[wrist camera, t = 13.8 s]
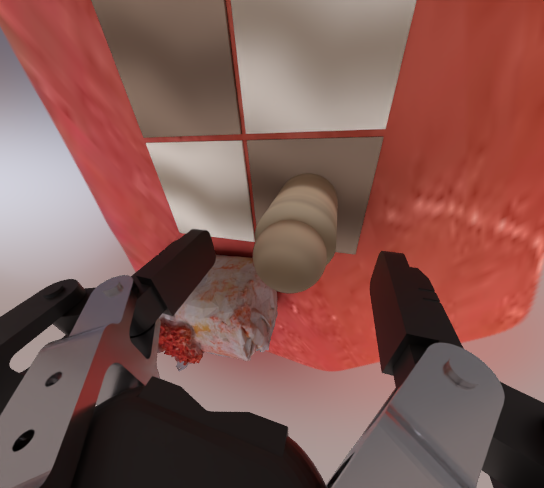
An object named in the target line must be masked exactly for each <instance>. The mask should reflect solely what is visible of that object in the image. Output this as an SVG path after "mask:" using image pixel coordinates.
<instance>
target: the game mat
mask: <svg viewBox="0 0 544 488" xmlns="http://www.w3.org/2000/svg"><path fill="white" fill-rule="evenodd" d="M91 1H92V4H93V6H94V9H95V11H96V14H97V17H98V19H99V22H100V25H101V27H102V30H103V32H104V35H105V38H106V40H107V43H108V46H109V48H110V51H111V53H112V56H113V59H114V61H115V64H116V67H117V69H118V72H119V74H120V77H121V80H122V82H123V85H124V88H125V90H126V93H127V95H128V98H129V101H130V103H131V106H132V109H133V111H134V114H135V116H136V119H137V122H138V124H139V127H140V130H141V132H142V135H143V137H144V138H146V137H174V136H202V135H230V134H242V131H241V123H240V115H239V107H238V99H237V91H236V83H235V75H234V67H233V59H232V51H231V43H230V35H229V27H228V19H227V11H226V3H225V0H91ZM415 4H416V0H231V7H232V16H233V24H234V33H235V42H236V51H237V59H238V68H239V77H240V86H241V94H242V103H243V112H244V121H245V130H246V134H258V133H286V132H315V131H343V130H371V129H386V125H387V121H388V117H389V112H390V108H391V104H392V100H393V96H394V92H395V87H396V83H397V79H398V75H399V71H400V67H401V63H402V58H403V54H404V50H405V46H406V42H407V38H408V34H409V29H410V25H411V21H412V17H413V13H414V9H415ZM382 141H383V137H348V138H310V139H272V140H247V147H248V156H249V165H250V173H251V182H252V191H253V200H254V208H255V217H256V226H257V225H258V222H259V221H260V219H261V218H262V216H263V215H264V214H265V212H266V211H267V209H268V208H269V206H270V205H271V203H272V202H273V201H274V199H275V198H276V196H277V195H278V193H279V192H280V191H281V189H282V188H283V186H284V185H285V184H286V183H287V181H289V180H290V179H291V178H293V177H295V176H297V175H300V174H304V173H311V174H317V175H320V176H322V177H324V178H325V179H327V180H328V181H329V182H330V183H331V184H332V185H333V187H334V189H335V191H336V193H337V198H338V208H337V238H336V250H335V252H340V253H348V254H356V249H357V245H358V241H359V237H360V233H361V229H362V224H363V220H364V216H365V212H366V208H367V204H368V200H369V195H370V191H371V187H372V183H373V179H374V175H375V171H376V166H377V162H378V158H379V154H380V150H381V146H382ZM146 145H147V148H148V151H149V153H150V156H151V158H152V161H153V164H154V166H155V169H156V172H157V174H158V177H159V179H160V182H161V185H162V187H163V190H164V193H165V195H166V198H167V200H168V203H169V206H170V208H171V211H172V214H173V216H174V219H175V221H176V224H177V227H178V229H179V232H180V233H188V232H189V231H190V230H191V229H199V230H207V231H208V232H209V233H210V236H211V237H218V238H227V239H235V240H243V241H251V242H255V235H254V227H253V219H252V211H251V203H250V195H249V187H248V179H247V171H246V163H245V155H244V147H243V140H234V141H196V142H158V143H146Z"/></svg>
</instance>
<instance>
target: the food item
mask: <svg viewBox="0 0 544 488" xmlns="http://www.w3.org/2000/svg"><path fill="white" fill-rule="evenodd" d="M276 317H277V291H276V290H274V289H272V288H270V287H269V286H267V285H266V284H265V283H264V282H263V281H262V280H261V279H260V277H259V276H258V274H257V272H256V270H255V267H254V263H253V258H249V257H240V256H226V255H216V261H215V263H214V265H213V267H212V268H211V269H210V270H209V272H208V273H207V274H206V275H205V277H204V278H203V279H202V280H201V282H200V283H199V284H198V286H197V287H196V288H195V289H194V291H193V292H192V293H191V294H190V296H189V297H188V298H187V299H186V301H185V302H184V303H183V304H182V306H181V307H180V308H179V309H178V311H177V312H176V313H175V314H174V316H170V315H166V314H162V315H161V316H160V317H159V319H160V321H161V325H160V334H159V343H158V351H157V353H160V352H163V351H164V350H166V351H165V353H164V354H167V355H172V357H173V356H175V360H176V361H177V366H176V367H177V369H178V371H181V370H183V369H185V368H186V367H187V365H188V364H191V363H195V362H196V361H197V363H199V361H200V360H201V358H202V356H203V353H204V352H206V353H211V354H216V355H220V356H226V357H233V358H238V359H242V360H246V361H249V360H250V357H251V356H252V355H253V354H254V353H255V352H256V351H258V350H260V352H261V351H262V352H264V351H265V350H269V344H270V340H271V335H272V332H273V329H274V326H275V321H276ZM179 368H180V369H179Z"/></svg>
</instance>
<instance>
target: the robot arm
mask: <svg viewBox="0 0 544 488" xmlns="http://www.w3.org/2000/svg"><path fill="white" fill-rule="evenodd" d="M215 261H216V253H215V250H214V246H213V243H212V239H211V236H210V233H209V232H208V231H207V230H199V229H191V230H190V231H189V232H188V233H186V234H185V235H184V236H183V237H182V238H180V239H178V240H176V241H174V242H173V243H171V244H170V245H169V246H168V247H167V248H165V250H163V251H162V252H160V253H159V255H157V256H156V257H154V258H153V259H152V260H151V261H149V262H148V263H147V264H146V265H145V266H143V267H142V268H141V269H140V270H138V271H137V272H136V273H135V274H134V275H132V276H127V275H122V276H117V277H113V278H111V279H109V280H107V281H105V282H103V283H102V284H100V285H99V286H97V287H96V288H86V289H84V288H83V287H82V286H81V285H80V284H79V282H78V281H76V280H74V279H68V280H63V281H60V282H57V283H54V284H52V285H50V286H48V287H46V288H44V289H43V290H41V291H39V292H38V293H36V294H35V295H33V296H32V297H31V298H29V299H27V300H26V301H24V302H23V303H21V304H19V305H18V306H16V307H15V308H14V309H12V310H10V311H9V312H7V313H6V314H4V315H3V316H1V317H0V488H476V486H477V482H478V478H479V476H480V473H481V470H482V471H484V472H485V473H487V474H488V475H489V476H490V479H491V481H492V485H493V487H494V488H544V403H543V402H541V401H539V400H537V399H534V398H532V397H530V396H528V395H526V394H524V393H522V392H520V391H518V390H515V389H513V388H511V387H509V386H507V385H506V384H504V383H501V382H500V381H499V380H498V378H497V377H496V375H495V374H494V373H493V371H492V370H491V369H490V368H489V367H488V366H487V365H486V364H485V363H484V362H482V361H481V360H480V359H479V358H478V357H476V356H475V355H473V354H472V353H470V352H468V351H467V350H465V349H464V348H463V346H462V345H461V343H460V341H459V339H458V336H457V334H456V332H455V330H454V328H453V326H452V324H451V322H450V320H449V318H448V316H447V314H446V312H445V310H444V308H443V306H442V304H441V303H440V300H439V298H438V296H437V294H436V293H435V292H434V291H435V290H434V288H433V286H432V284H431V282H430V280H429V278H428V277H426V276H425V275H424V274H423V273H422V272H421V271H420V270H419V269H418V268H412V267H409V265H408V262H407V260H406V257H405V255H404V254H403V253H396V252H387V251H381V252H380V254H379V256H378V259H377V262H376V265H375V268H374V271H373V274H372V277H371V281H370V296H371V303H372V309H373V316H374V323H375V330H376V337H377V343H378V350H379V357H380V364H381V370H382V373H385V374H389V375H393V376H394V380H395V385H396V388H395V389H394V391H393V392H392V393H391V395H390V396H389V398H388V399H387V401H386V402H385V403H384V405H383V406H382V408H381V409H380V410H379V412H378V413H377V415H376V416H375V418H374V419H373V420H372V422H371V423H370V424H369V426H368V427H367V429H366V430H365V432H364V433H363V434H362V436H361V437H360V438H359V440H358V441H357V442H356V444H355V445H354V447H353V448H352V449H351V450H350V452H349V453H348V455H347V456H346V457H345V459H344V460H343V462H342V463H341V464H340V466H339V467H338V469H337V470H336V471H335V473H334V474H333V476H332V477H331V479H330V480H329V481H328V483H327V484H326V485H325V483H324V481H323V478H322V477H321V475H320V473H319V472H318V470H317V468H316V467H315V465H314V464H313V462H312V461H311V459H310V458H309V457H308V455H307V454H306V453H305V452H304V451H303V450H302V448H301V447H300V446H299V445H298V444H297V443H296V442H295V441H293V440H292V439H291V438H290V437H289V436H288V427H287V426H284V425H282V424H279V423H277V422H274V421H271V420H268V419H266V418H263V417H261V416H258V415H255V414H253V413H250V412H211V411H207V410H205V409H204V408H203V407H202V406H201V405H200V404H199V403H198V402H197V401H196V400H194V399H193V398H192V397H191V396H190V395H189V394H188V393H187V392H186V391H185V390H184V389H183V388H182V387H180V386H178V385H175V384H172V383H170V382H167V381H165V380H162V379H160V377H159V372H158V369H157V363H156V361H157V351H158V343H159V334H160V325H161V321H160V319H159V317H160V316H161V315H162V314H166V315H170V316H174V314H175V313H176V312H177V311H178V309H179V308H180V307H181V306H182V304H183V303H184V302H185V301H186V299H187V298H188V297H189V296H190V294H191V293H192V292H193V291H194V289H195V288H196V287H197V286H198V284H199V283H200V282H201V280H202V279H203V278H204V277H205V275H206V274H207V273H208V272H209V270H210V269H211V268H212V267H213V265H214V263H215ZM52 324H53V325H55V326H56V327H57V328H58V329H60V330H61V331H62V332H63V333H65V334H66V335H65V336H64V337H63V338H62V339H60V340H56V341H53V342H50V343H48V344H47V345H45V346H44V347H43V348H42V349H41V350H40V352H39V353H38V355H37V357H36V358H35V360H34V361H33V363H32V364H31V366H30V367H29V368H28V369H26V370H25V371H23V372H20V373H18V372H16V371H14V370H12V369H11V368H10V366H9V363H10V360H11V358H12V357H13V355H14V354H15V353H17V352H18V351H19V350H20V349H22V348H23V347H24V346H25V345H26V344H28V343H29V342H30V341H32V340H33V339H34V338H35V337H37V336H38V335H39V334H40V333H42V332H43V331H44V330H45V329H47V327H49V326H50V325H52ZM95 405H97V406H96V407H95Z"/></svg>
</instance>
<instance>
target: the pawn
mask: <svg viewBox="0 0 544 488" xmlns="http://www.w3.org/2000/svg"><path fill="white" fill-rule="evenodd" d="M337 208H338V198H337V193H336V191H335V189H334V187H333V185H332V184H331V183H330V182H329V181H328V180H327V179H325V178H324V177H322V176H320V175H317V174H311V173H304V174H300V175H297V176H295V177H293V178H291V179H290V180H289V181H287V183H286V184H285V185H284V186H283V188H282V189H281V191H280V192H279V193H278V195H277V196H276V198H275V199H274V201H273V202H272V203H271V205H270V206H269V208H268V209H267V211H266V212H265V214H264V215H263V216H262V218H261V219H260V221H259V222H258V225H257V227H256V232H255V240H256V243H255V246H254V249H253V263H254V267H255V270H256V272H257V274H258V276H259V277H260V279H261V280H262V281H263V282H264V283H265V284H266V285H267V286H269V287H270V288H272V289H274V290H276V291H279V292H282V293H298V292H301V291H304V290H306V289H308V288H310V287H311V286H313V285H314V284H315V283H316V282H317V281H318V280H319V279H320V277H321V276H322V274H323V272H324V269H325V266H326V265H327V264H328V263H329V262H330V261H331V259H332V258H333V256H334V254H335V250H336V238H337Z"/></svg>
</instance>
